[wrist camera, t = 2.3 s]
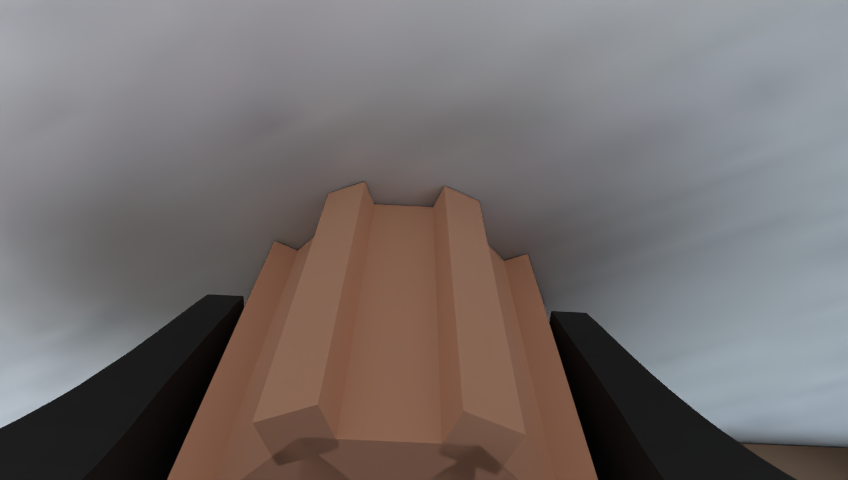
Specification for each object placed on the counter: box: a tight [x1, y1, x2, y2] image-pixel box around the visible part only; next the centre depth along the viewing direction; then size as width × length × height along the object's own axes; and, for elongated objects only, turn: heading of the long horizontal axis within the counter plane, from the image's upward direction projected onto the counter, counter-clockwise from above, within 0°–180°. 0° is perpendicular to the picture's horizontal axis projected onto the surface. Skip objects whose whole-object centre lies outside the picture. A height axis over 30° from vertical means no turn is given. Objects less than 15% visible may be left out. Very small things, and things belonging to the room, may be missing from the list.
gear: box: [167, 181, 598, 480], centre depth 10 cm, size 5×5×6 cm
